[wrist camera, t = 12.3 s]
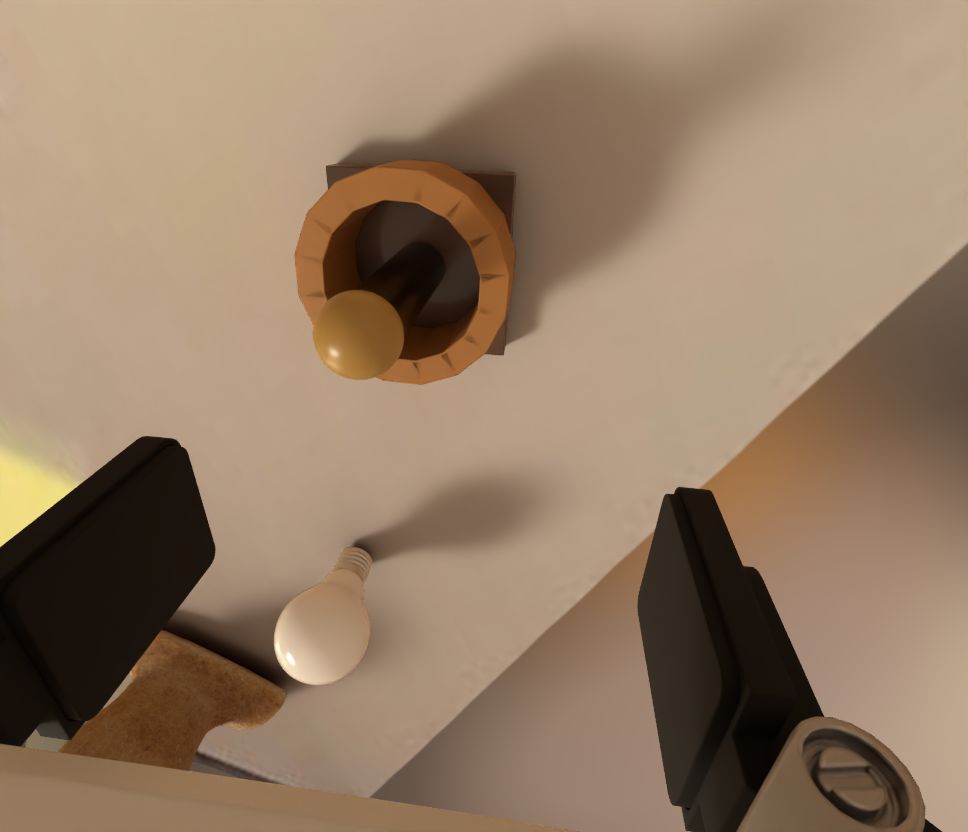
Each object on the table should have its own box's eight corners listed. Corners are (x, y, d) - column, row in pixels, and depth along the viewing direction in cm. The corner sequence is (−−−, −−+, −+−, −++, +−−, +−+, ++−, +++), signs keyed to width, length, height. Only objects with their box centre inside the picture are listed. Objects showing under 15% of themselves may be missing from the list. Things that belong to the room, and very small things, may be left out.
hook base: (335, 163, 30) (325, 165, 28) (516, 172, 29) (514, 175, 27) (351, 334, 34) (342, 343, 33) (505, 346, 34) (503, 355, 32)
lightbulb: (385, 520, 42) (336, 639, 32) (404, 580, 44) (365, 705, 35) (310, 526, 43) (241, 642, 33) (334, 584, 46) (277, 706, 36)
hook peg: (389, 234, 29) (291, 301, 18) (450, 237, 29) (388, 308, 18) (392, 294, 31) (304, 391, 20) (450, 298, 31) (393, 398, 20)
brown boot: (120, 665, 55) (-14, 835, 42) (153, 603, 49) (10, 776, 36) (253, 727, 58) (167, 904, 45) (298, 675, 52) (214, 859, 39)
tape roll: (325, 152, 28) (283, 157, 23) (523, 169, 27) (518, 177, 23) (338, 339, 33) (305, 372, 29) (505, 357, 32) (498, 393, 28)
